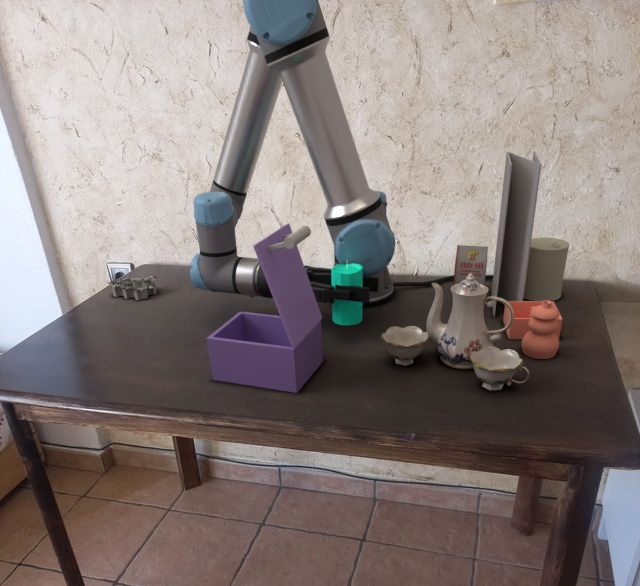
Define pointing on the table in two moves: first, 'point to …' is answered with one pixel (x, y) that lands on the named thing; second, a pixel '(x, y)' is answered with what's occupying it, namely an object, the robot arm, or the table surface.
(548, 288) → the can
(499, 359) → the chinaware
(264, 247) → the lid
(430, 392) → the table surface
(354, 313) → the candle
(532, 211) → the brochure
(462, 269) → the small printed carton
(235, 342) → the box
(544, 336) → the pottery
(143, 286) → the egg carton
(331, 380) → the table surface
